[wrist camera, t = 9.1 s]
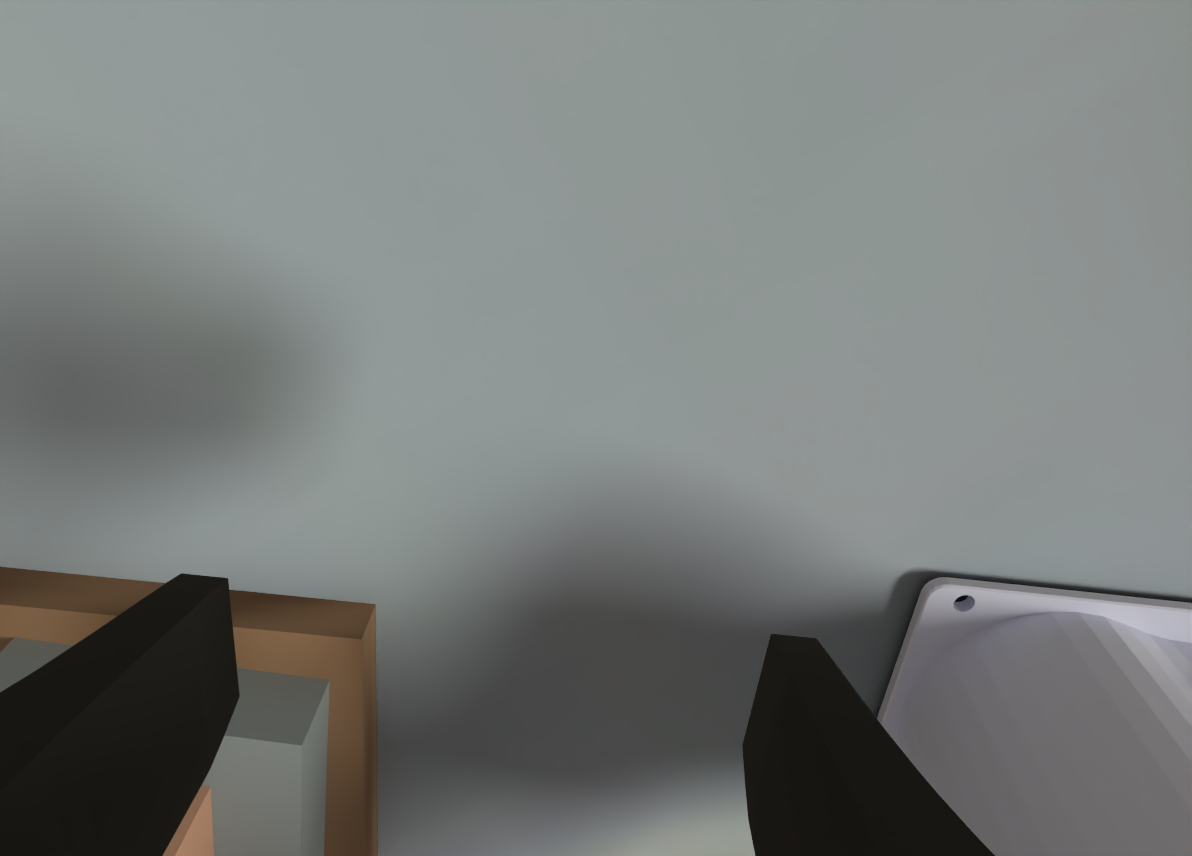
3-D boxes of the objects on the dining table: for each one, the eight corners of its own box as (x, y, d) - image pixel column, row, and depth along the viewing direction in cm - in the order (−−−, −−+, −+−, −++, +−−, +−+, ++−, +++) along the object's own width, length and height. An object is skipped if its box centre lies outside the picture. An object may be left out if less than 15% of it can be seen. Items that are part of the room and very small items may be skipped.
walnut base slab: (382, 586, 24) (361, 639, 22) (383, 833, 28) (366, 896, 26) (14, 549, 23) (-42, 600, 21) (74, 805, 28) (32, 866, 26)
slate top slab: (329, 680, 22) (301, 745, 20) (323, 880, 26) (299, 952, 24) (14, 637, 22) (-45, 700, 20) (51, 846, 25) (4, 918, 23)
